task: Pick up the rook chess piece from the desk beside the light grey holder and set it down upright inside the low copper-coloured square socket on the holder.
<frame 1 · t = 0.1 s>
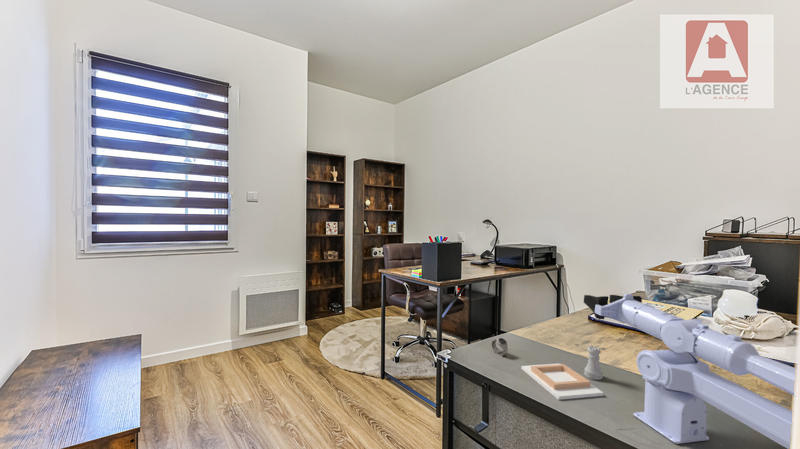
hand: (597, 298, 87), 22 cm above the table, tool horizontal, fingers open, 7 cm apart
rook chess piece: (593, 377, 89), on the table
wristwatch: (499, 354, 104), on the table
socket holder: (559, 381, 86), on the table
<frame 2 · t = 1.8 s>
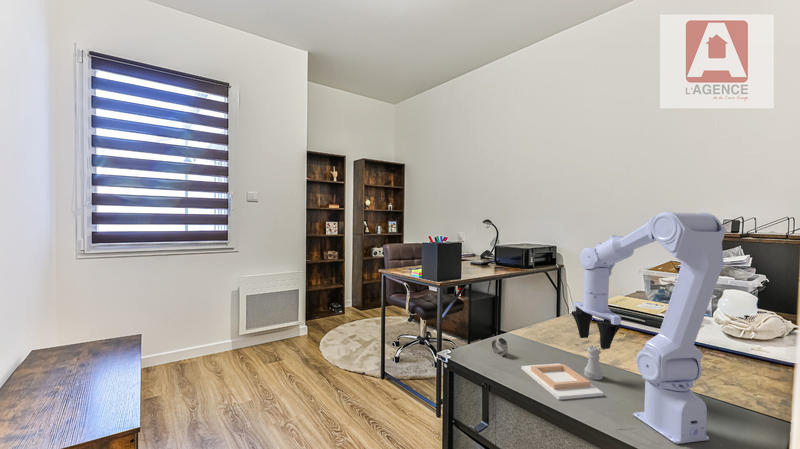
hand: (594, 342, 89), 9 cm above the table, tool pointing down, fingers open, 7 cm apart
nothing on the table moved.
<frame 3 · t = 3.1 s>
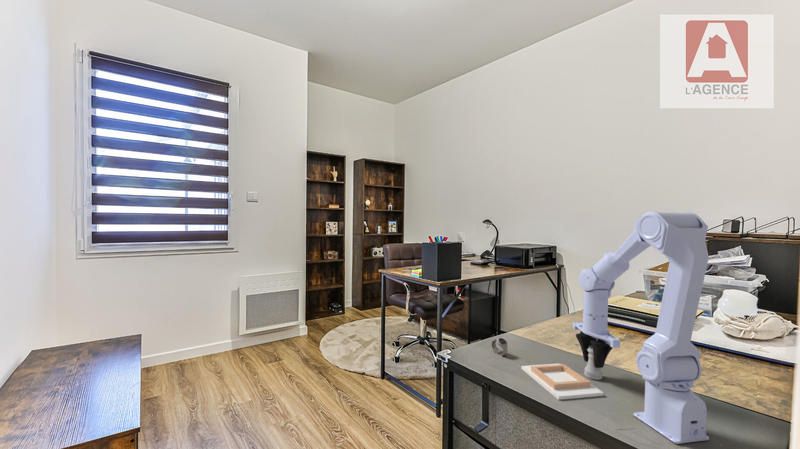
hand: (593, 364, 89), 3 cm above the table, tool pointing down, fingers closed on rook chess piece, 3 cm apart
rook chess piece: (593, 377, 89), on the table, touching gripper
everything else where it was.
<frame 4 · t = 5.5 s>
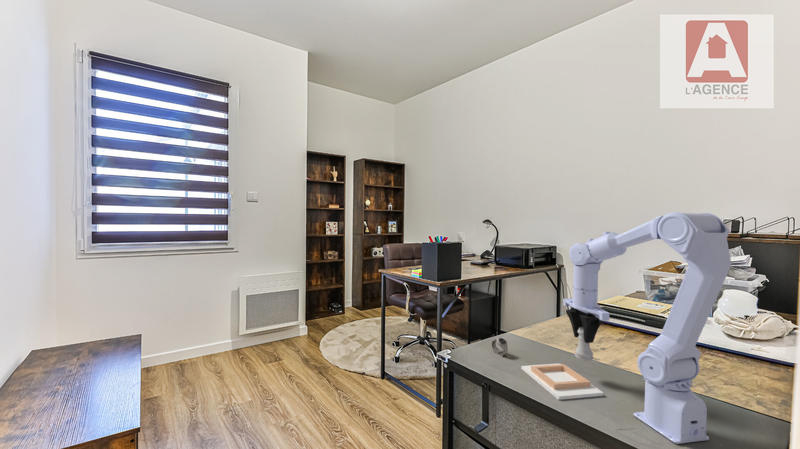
hand: (583, 339, 88), 10 cm above the table, tool pointing down, fingers closed on rook chess piece, 3 cm apart
rook chess piece: (584, 358, 89), point 5 cm above the table, touching gripper
everything else where it was.
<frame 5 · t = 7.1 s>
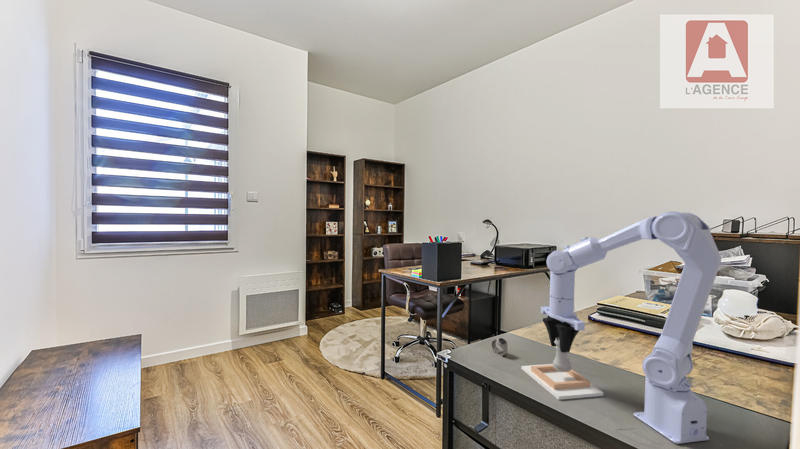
hand: (560, 348, 86), 9 cm above the table, tool pointing down, fingers closed on rook chess piece, 3 cm apart
rook chess piece: (562, 369, 87), point 3 cm above the table, touching gripper
everything else where it was.
when the fingers open (5 cm above the table, at t = 8.1 s): rook chess piece stays where it is, resting on socket holder.
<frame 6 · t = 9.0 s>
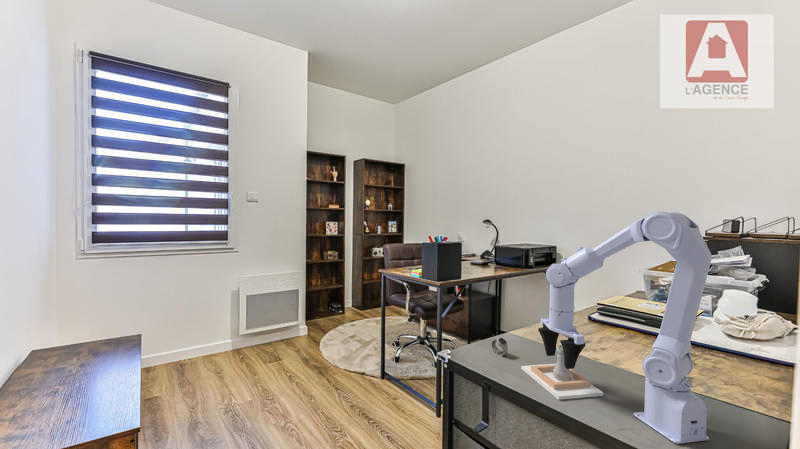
hand: (559, 361, 86), 5 cm above the table, tool pointing down, fingers open, 7 cm apart
rook chess piece: (561, 378, 87), point 1 cm above the table, touching socket holder
everything else where it was.
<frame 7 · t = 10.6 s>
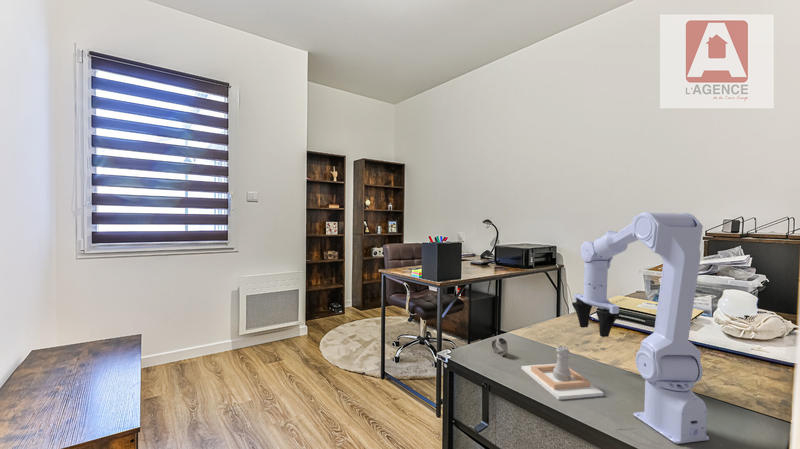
hand: (593, 331, 94), 10 cm above the table, tool pointing down, fingers open, 7 cm apart
nothing on the table moved.
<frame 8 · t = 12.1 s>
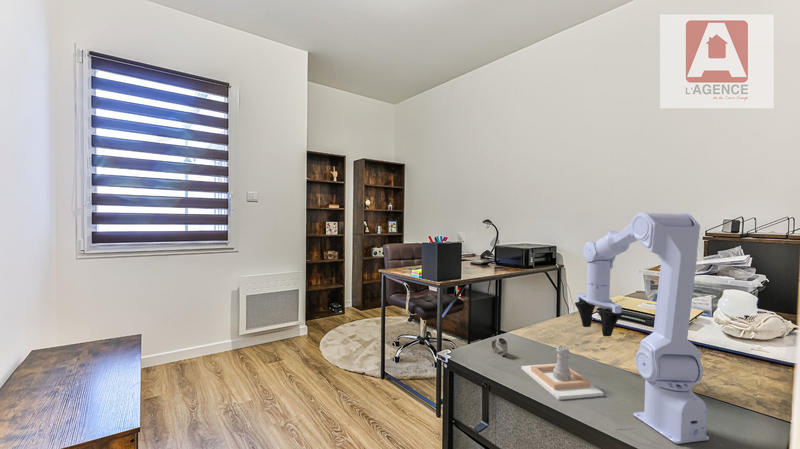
hand: (596, 331, 95), 10 cm above the table, tool pointing down, fingers open, 7 cm apart
nothing on the table moved.
at the end: rook chess piece 1.0 cm off-centre on the socket holder, point 0.6 cm above the socket holder's base; rook chess piece tilted 0°; the gripper is holding nothing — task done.
